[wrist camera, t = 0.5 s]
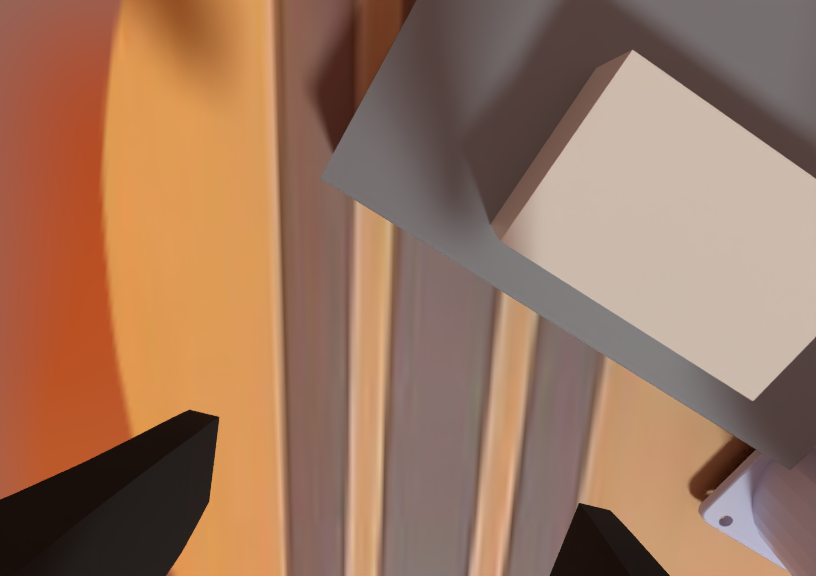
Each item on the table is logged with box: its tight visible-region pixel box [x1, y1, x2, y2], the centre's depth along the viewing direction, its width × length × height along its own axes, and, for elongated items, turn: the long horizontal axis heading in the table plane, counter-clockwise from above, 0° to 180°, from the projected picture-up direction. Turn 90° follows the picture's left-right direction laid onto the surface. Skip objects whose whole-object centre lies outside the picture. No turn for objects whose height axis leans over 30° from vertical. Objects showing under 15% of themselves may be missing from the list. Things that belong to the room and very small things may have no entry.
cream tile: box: [490, 50, 816, 401], centre depth 13 cm, size 8×5×2 cm, turn 58°
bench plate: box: [320, 0, 816, 470], centre depth 15 cm, size 18×12×3 cm, turn 58°
